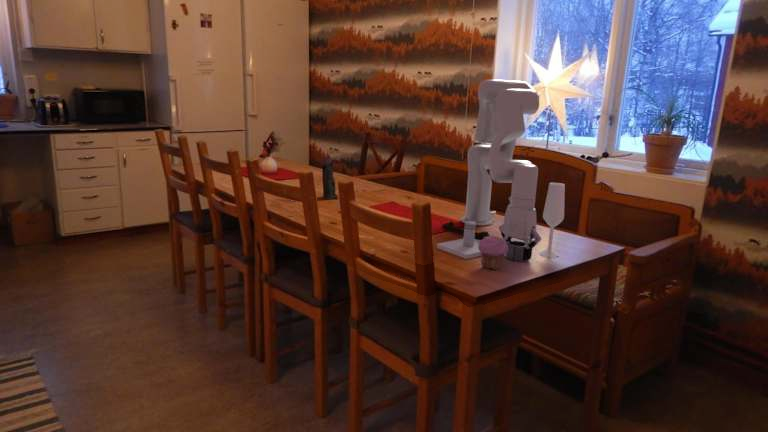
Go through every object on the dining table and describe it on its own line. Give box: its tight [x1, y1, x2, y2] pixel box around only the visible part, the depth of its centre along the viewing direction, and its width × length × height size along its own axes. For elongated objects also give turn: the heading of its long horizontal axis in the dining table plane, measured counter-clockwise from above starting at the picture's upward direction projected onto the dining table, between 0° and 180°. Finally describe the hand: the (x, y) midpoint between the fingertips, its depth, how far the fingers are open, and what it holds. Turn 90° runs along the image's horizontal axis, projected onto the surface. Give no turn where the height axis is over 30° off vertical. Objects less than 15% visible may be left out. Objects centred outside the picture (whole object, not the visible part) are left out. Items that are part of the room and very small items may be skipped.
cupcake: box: [478, 235, 508, 271], centre depth 163 cm, size 9×9×10 cm
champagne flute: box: [538, 182, 566, 258], centre depth 177 cm, size 7×7×24 cm
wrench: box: [441, 221, 490, 241], centre depth 197 cm, size 5×5×30 cm
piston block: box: [436, 221, 482, 260], centre depth 180 cm, size 16×14×10 cm
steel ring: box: [504, 239, 530, 263], centre depth 173 cm, size 7×7×5 cm
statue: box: [321, 155, 339, 200], centre depth 250 cm, size 7×7×20 cm
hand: (517, 255), depth 174 cm, fingers closed on steel ring, 7 cm apart
